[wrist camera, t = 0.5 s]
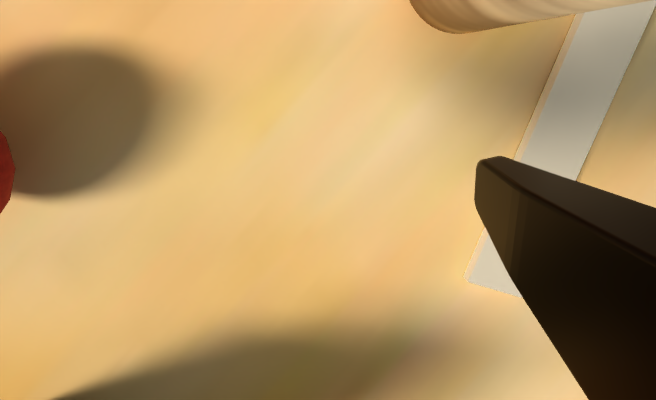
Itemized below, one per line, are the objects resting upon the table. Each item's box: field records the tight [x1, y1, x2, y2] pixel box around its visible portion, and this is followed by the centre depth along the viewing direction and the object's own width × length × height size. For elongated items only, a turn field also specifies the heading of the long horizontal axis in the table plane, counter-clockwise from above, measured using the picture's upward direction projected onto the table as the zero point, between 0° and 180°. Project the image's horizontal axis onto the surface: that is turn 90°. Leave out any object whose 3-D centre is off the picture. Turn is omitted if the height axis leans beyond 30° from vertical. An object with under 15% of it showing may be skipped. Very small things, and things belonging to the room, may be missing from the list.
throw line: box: [463, 0, 656, 298], centre depth 23 cm, size 16×3×1 cm, turn 160°
